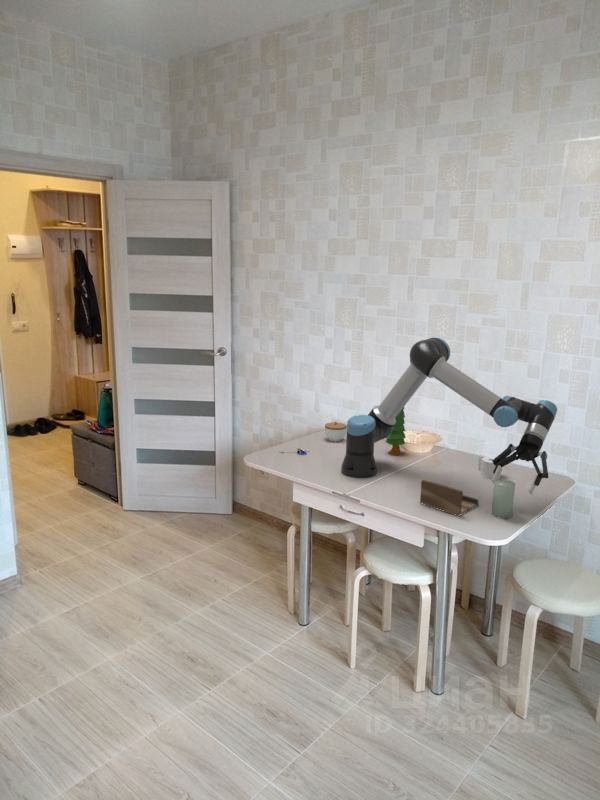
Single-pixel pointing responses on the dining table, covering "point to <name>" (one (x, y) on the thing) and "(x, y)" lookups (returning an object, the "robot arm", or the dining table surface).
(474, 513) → the dining table surface
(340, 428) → the lidded jar
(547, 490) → the dining table surface
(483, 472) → the toilet paper
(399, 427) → the decorative tree
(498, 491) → the canister
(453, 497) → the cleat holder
